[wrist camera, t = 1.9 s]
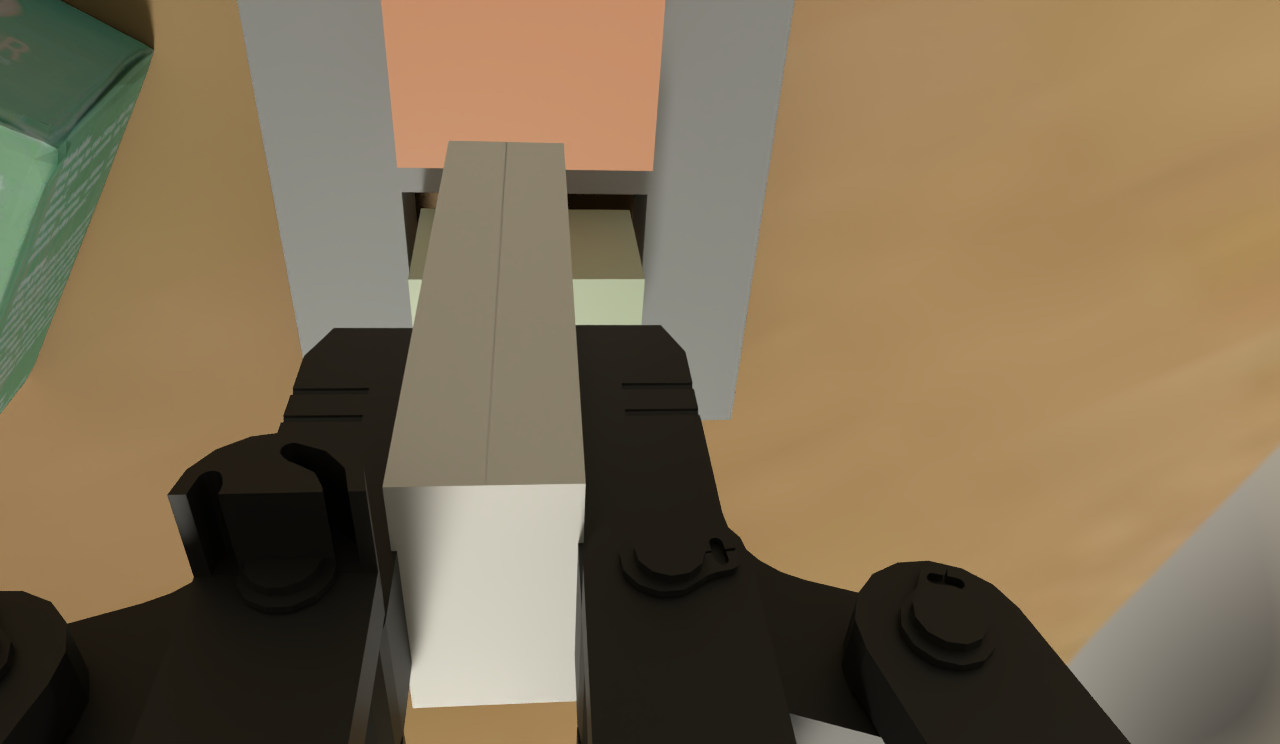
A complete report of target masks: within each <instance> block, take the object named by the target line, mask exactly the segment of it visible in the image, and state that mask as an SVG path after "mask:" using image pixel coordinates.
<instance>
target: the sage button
mask: <svg viewBox="0 0 1280 744" xmlns="http://www.w3.org/2000/svg"><path fill="white" fill-rule="evenodd" d="M435 210H436V209H428V208H421V211H420V216H419V222H418V227H417V233H416V239H415V244H414V250H413V255H412V261H411V266H410V272H409V277H408V284H409V294H410V305H411V315H412V325H414V320H415V314H416V309H417V304H418V299H419V293H420V288H421V283H422V278H423V273H424V267H425V262H426V257H427V252H428V246H429V241H430V236H431V231H432V225H433V220H434V215H435ZM568 215H569V231H570V246H571V262H572V278H573V293H574V309H575V325H641V324H642V310H643V297H644V284H645V278H644V273H643V269H642V264H641V260H640V255H639V251H638V246H637V241H636V237H635V232H634V228H633V223H632V219H631V214H630V210H568Z"/></svg>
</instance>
